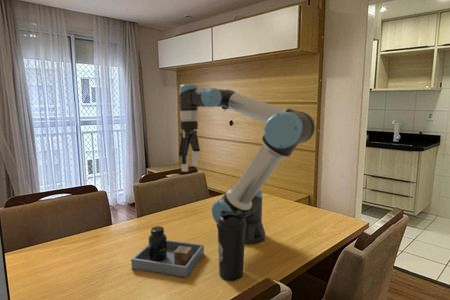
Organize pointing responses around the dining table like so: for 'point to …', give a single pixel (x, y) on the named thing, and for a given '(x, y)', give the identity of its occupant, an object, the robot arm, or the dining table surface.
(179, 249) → the walnut cube
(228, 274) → the water bottle
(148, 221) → the dining table surface
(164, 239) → the supplement bottle
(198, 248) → the tray
